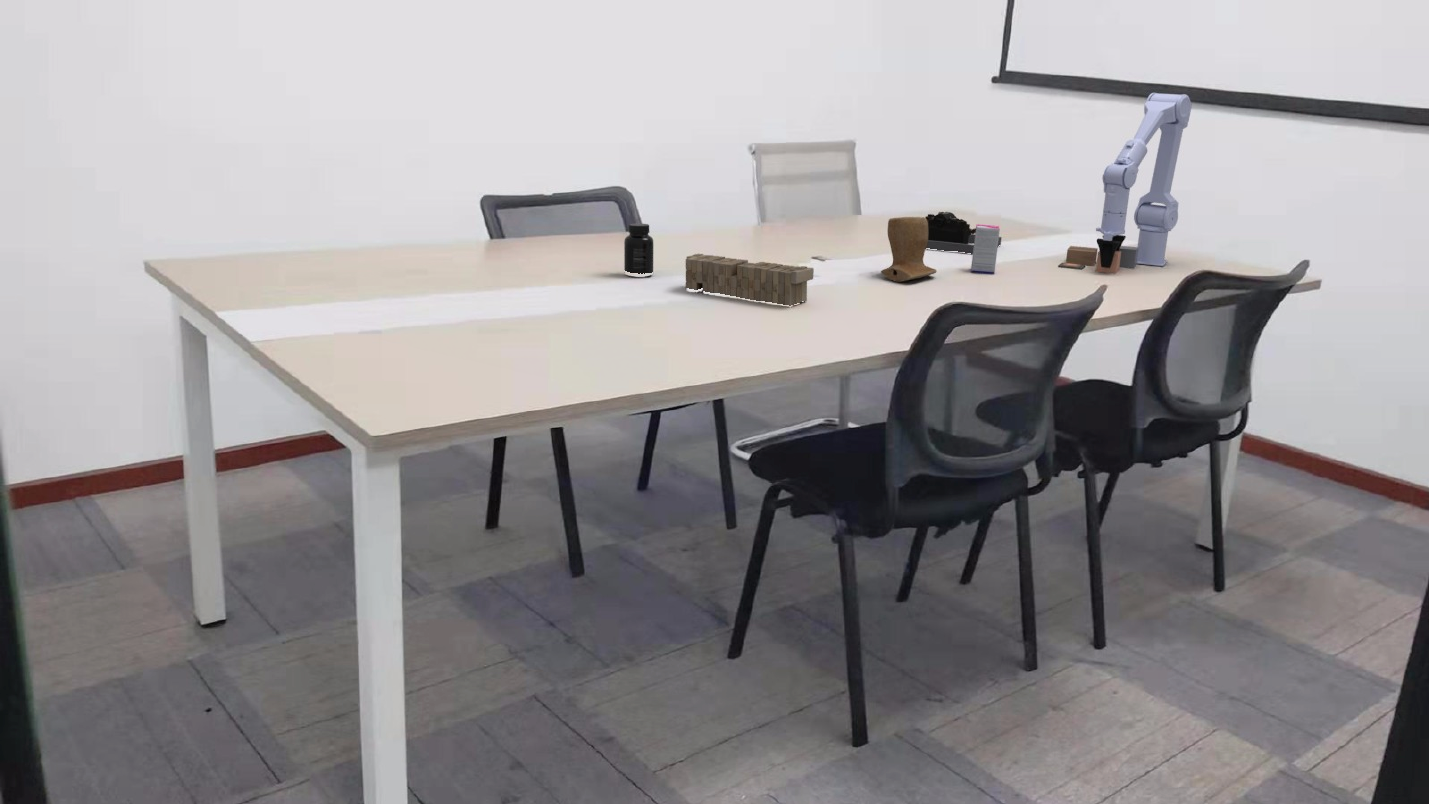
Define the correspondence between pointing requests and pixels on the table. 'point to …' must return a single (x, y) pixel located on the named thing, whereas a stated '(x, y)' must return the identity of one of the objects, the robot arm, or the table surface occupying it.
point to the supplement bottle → (638, 249)
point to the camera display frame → (955, 245)
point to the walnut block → (1081, 255)
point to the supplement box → (985, 249)
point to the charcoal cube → (1128, 257)
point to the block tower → (748, 279)
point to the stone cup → (907, 248)
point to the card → (1071, 266)
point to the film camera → (948, 228)
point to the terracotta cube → (1114, 266)
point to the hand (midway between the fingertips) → (1107, 265)
